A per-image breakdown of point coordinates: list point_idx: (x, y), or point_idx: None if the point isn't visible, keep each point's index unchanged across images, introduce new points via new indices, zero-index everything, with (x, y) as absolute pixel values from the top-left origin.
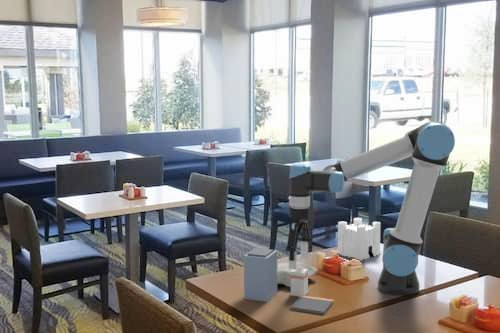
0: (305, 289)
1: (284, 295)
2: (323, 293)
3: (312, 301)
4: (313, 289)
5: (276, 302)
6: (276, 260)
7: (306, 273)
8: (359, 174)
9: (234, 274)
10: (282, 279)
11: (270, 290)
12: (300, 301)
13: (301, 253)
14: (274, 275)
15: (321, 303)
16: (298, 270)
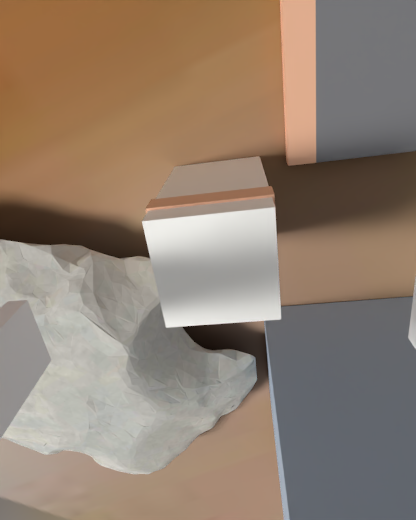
0: (224, 169)
1: (284, 262)
2: (135, 62)
3: (377, 37)
4: (107, 158)
5: (405, 255)
6: (302, 484)
7: (192, 206)
8: None
9: (143, 510)
10: (176, 344)
11: (383, 329)
12: (401, 120)
13: (22, 391)
14: (329, 386)
15: None
16: (222, 278)
